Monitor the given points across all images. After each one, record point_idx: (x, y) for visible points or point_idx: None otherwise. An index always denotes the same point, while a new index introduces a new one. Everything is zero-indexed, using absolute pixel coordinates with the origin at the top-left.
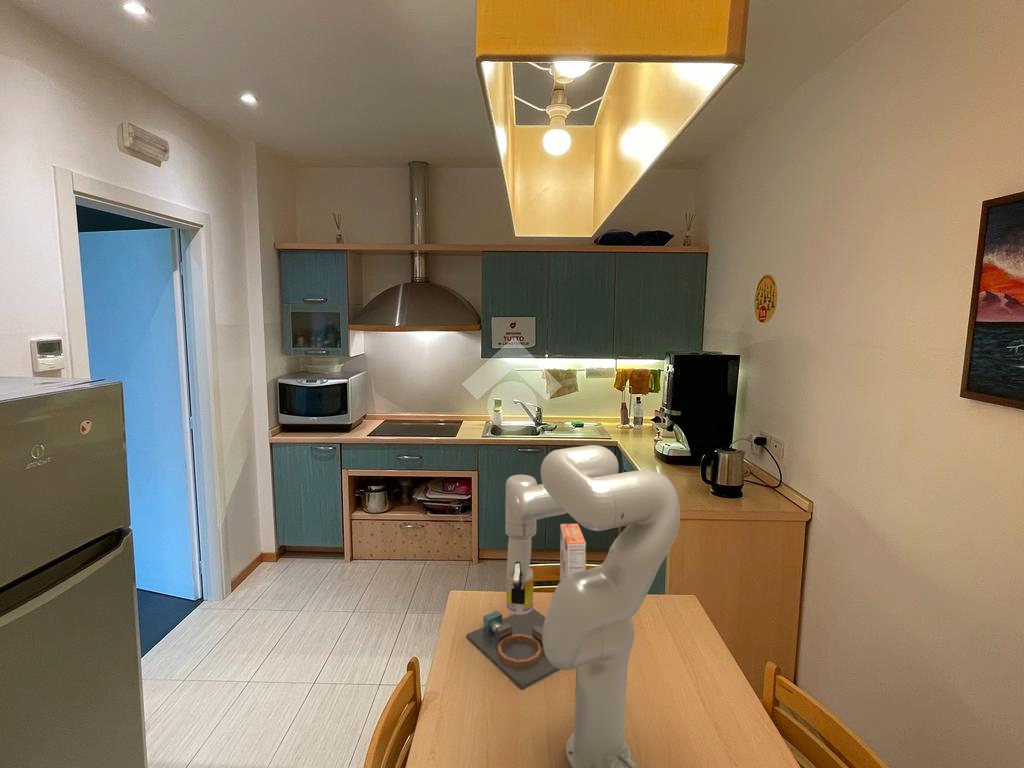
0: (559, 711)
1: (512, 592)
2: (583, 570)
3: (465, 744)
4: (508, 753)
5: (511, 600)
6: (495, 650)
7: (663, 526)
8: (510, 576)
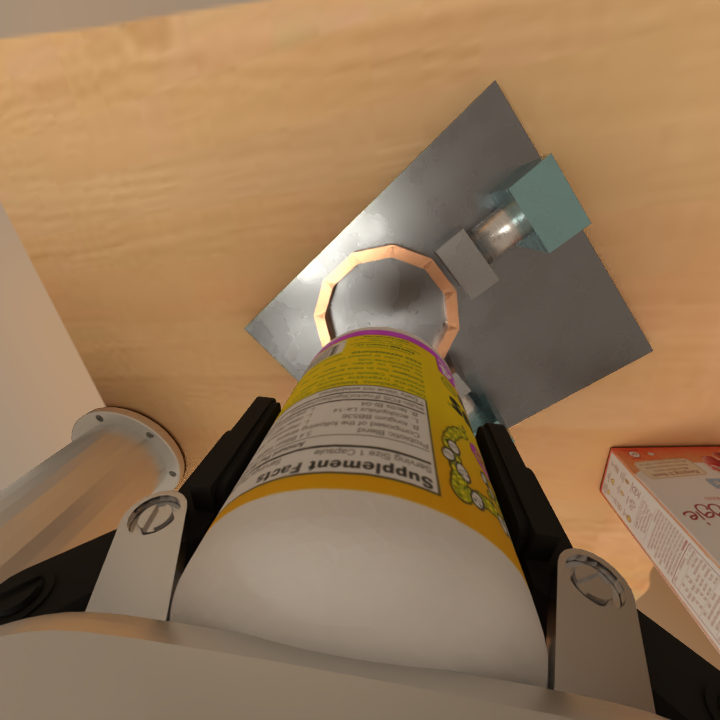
0: (209, 402)
1: (217, 456)
2: (715, 639)
3: (36, 195)
4: (65, 302)
5: (253, 404)
6: (387, 235)
7: None
8: (190, 583)
